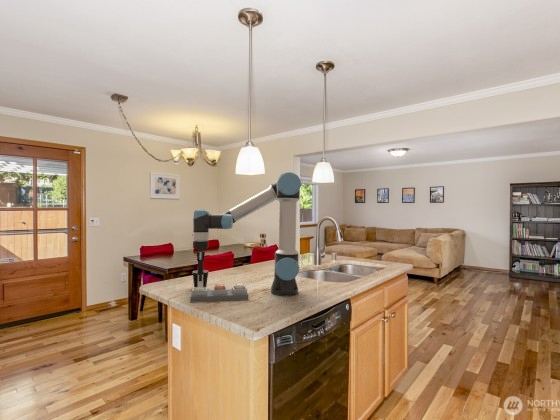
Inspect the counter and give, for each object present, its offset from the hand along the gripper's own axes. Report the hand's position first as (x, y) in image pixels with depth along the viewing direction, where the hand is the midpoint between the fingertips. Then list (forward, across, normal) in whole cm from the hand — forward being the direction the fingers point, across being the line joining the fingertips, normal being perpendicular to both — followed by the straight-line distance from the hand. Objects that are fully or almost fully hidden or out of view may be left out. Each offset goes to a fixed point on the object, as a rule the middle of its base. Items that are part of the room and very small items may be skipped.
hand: (200, 287), depth 157 cm
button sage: (+3, 0, 0) cm, 3 cm away
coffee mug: (+6, -19, 0) cm, 20 cm away
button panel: (+6, 0, +10) cm, 11 cm away
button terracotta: (+2, 0, +10) cm, 10 cm away
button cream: (+2, 0, +20) cm, 20 cm away
